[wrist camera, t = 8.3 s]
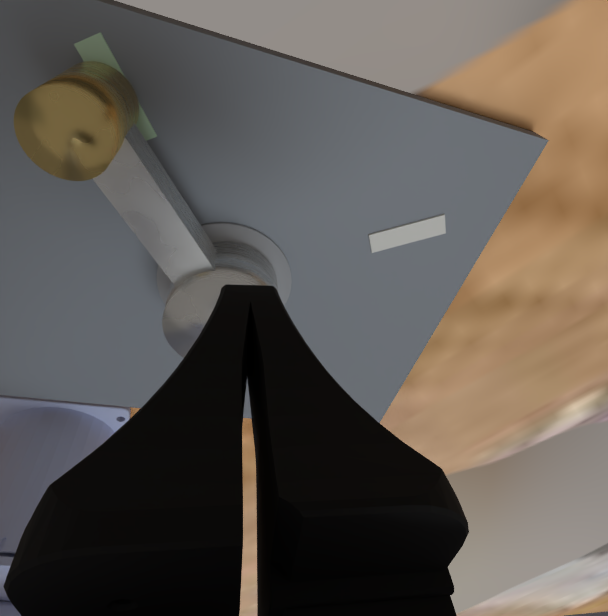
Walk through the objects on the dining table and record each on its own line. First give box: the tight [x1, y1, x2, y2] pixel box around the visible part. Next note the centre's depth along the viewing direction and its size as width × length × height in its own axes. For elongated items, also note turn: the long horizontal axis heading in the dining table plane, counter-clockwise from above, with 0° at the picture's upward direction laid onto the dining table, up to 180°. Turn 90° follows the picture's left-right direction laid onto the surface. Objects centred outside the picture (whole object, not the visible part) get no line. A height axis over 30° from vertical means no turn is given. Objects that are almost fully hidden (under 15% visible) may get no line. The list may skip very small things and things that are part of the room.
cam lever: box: [14, 61, 279, 358], centre depth 17 cm, size 13×5×4 cm, turn 23°
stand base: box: [0, 0, 549, 423], centre depth 22 cm, size 20×24×1 cm
